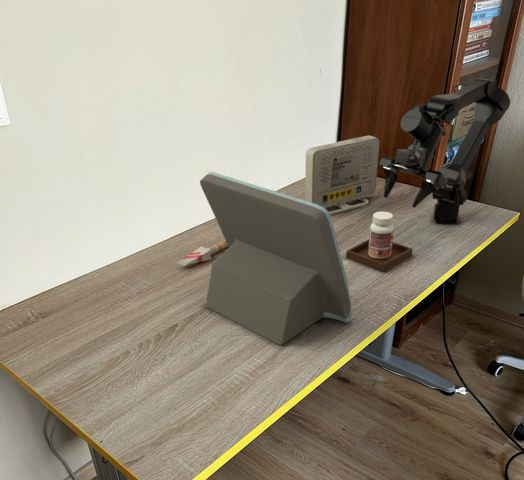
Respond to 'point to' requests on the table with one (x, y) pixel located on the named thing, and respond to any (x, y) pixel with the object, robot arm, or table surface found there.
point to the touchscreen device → (274, 260)
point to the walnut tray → (362, 257)
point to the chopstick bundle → (202, 254)
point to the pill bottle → (381, 235)
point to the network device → (342, 172)
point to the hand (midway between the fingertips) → (398, 202)
